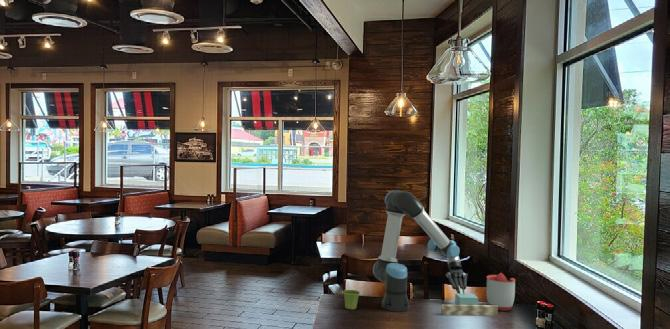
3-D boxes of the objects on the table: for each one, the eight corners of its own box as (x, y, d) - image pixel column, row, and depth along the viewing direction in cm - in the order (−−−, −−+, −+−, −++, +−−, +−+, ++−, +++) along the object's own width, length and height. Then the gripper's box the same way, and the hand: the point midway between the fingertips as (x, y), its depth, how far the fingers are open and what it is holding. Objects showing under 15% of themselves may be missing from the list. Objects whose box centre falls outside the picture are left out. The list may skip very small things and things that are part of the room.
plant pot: (352, 304, 252) (353, 289, 253) (362, 309, 244) (363, 293, 245) (339, 306, 247) (339, 291, 247) (348, 311, 239) (349, 295, 240)
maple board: (442, 315, 239) (442, 305, 239) (441, 313, 241) (441, 304, 241) (497, 315, 241) (497, 306, 241) (496, 314, 243) (496, 305, 243)
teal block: (459, 314, 242) (460, 297, 242) (454, 309, 250) (455, 293, 250) (477, 314, 242) (478, 297, 242) (472, 309, 250) (473, 293, 250)
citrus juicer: (521, 308, 255) (522, 273, 255) (505, 314, 244) (506, 277, 244) (496, 301, 267) (497, 268, 267) (480, 306, 256) (481, 271, 256)
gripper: (463, 267, 272) (472, 303, 256) (442, 267, 272) (449, 303, 255) (466, 260, 267) (475, 296, 250) (444, 260, 267) (452, 296, 250)
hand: (462, 300), depth 253 cm, fingers closed
